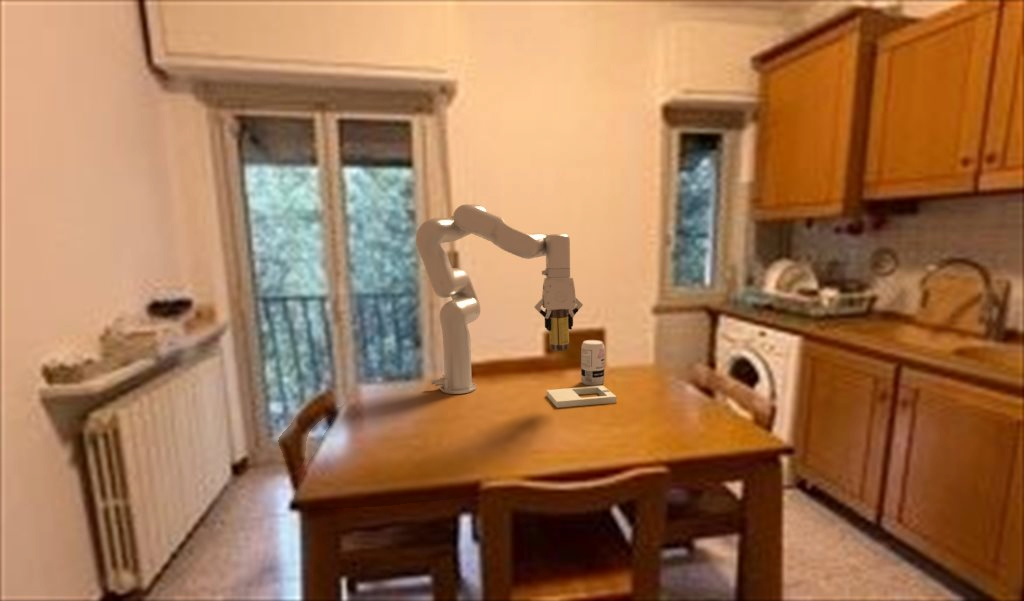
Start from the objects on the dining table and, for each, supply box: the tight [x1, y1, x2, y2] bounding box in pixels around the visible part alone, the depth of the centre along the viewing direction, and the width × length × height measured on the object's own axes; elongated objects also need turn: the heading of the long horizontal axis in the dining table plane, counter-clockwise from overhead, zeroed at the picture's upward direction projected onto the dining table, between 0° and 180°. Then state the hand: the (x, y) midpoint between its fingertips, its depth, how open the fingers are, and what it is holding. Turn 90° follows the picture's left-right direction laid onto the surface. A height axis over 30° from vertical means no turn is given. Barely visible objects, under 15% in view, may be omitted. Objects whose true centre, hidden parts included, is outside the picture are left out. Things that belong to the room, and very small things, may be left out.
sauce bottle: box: [548, 309, 570, 352], centre depth 180 cm, size 6×6×20 cm
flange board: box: [546, 385, 617, 409], centre depth 186 cm, size 20×12×2 cm, turn 102°
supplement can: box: [580, 339, 606, 387], centre depth 202 cm, size 8×8×15 cm
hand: (559, 328), depth 180 cm, fingers closed on sauce bottle, 6 cm apart
